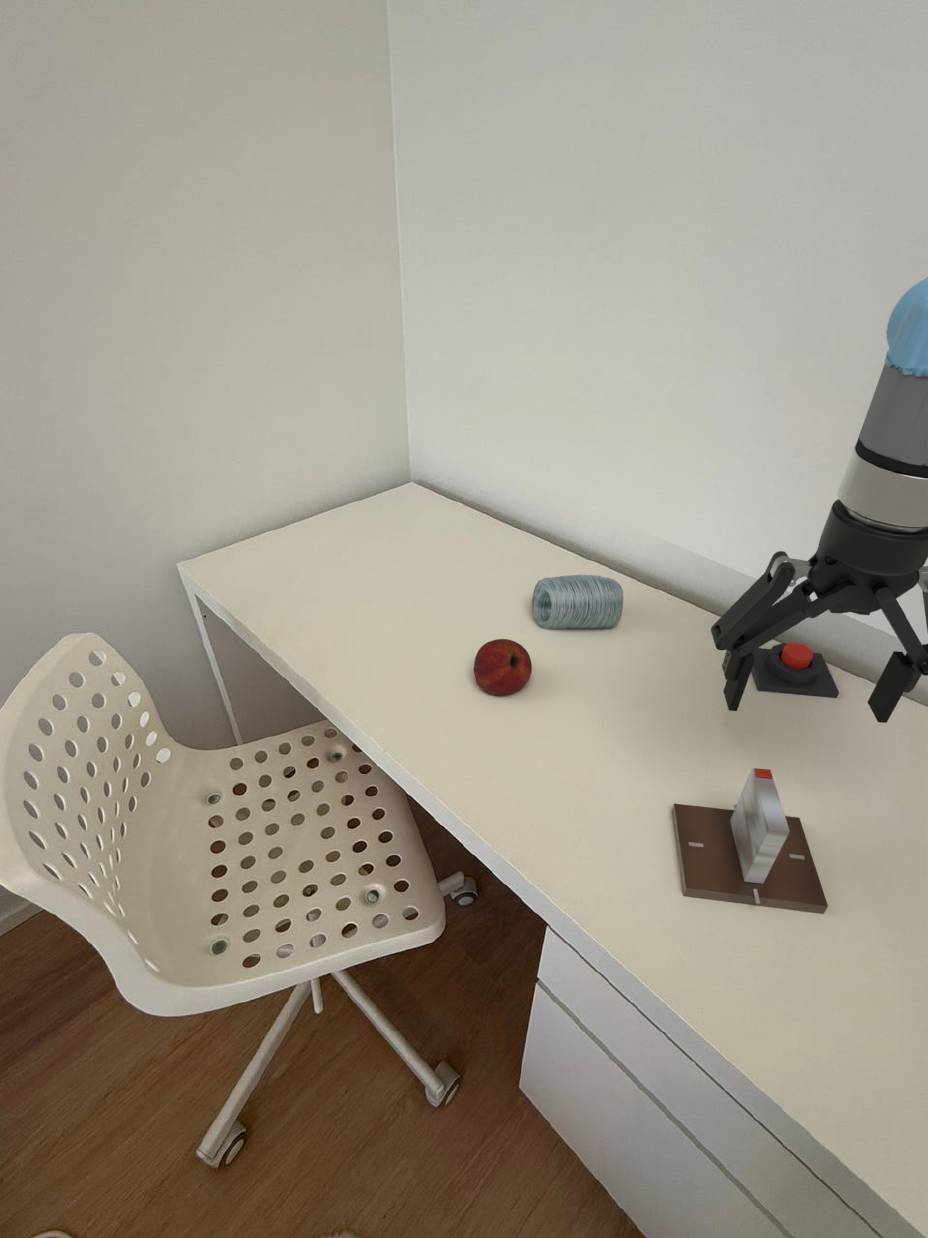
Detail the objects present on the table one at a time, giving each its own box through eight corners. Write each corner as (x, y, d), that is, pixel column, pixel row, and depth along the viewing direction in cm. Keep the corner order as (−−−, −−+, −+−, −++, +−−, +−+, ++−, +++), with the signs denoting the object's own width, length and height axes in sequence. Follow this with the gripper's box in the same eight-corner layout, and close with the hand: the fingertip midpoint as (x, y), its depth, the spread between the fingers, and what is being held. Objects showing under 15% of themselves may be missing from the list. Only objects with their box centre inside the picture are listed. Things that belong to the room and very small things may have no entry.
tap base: (790, 826, 71) (798, 811, 69) (821, 926, 62) (831, 912, 60) (668, 812, 72) (673, 797, 70) (681, 908, 63) (687, 893, 62)
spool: (527, 629, 93) (547, 562, 91) (521, 617, 102) (539, 556, 100) (618, 654, 94) (639, 588, 92) (603, 640, 103) (622, 580, 101)
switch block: (816, 665, 92) (825, 643, 89) (833, 704, 85) (844, 682, 83) (743, 658, 93) (750, 637, 90) (755, 697, 87) (763, 675, 84)
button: (804, 653, 88) (809, 643, 87) (812, 671, 85) (816, 661, 84) (777, 651, 89) (781, 641, 88) (784, 668, 86) (788, 658, 85)
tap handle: (763, 884, 62) (791, 830, 57) (744, 882, 63) (769, 827, 57) (747, 822, 68) (771, 768, 63) (729, 820, 68) (752, 766, 63)
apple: (492, 716, 84) (494, 670, 79) (462, 681, 89) (462, 635, 84) (539, 695, 87) (543, 650, 82) (507, 663, 92) (509, 618, 87)
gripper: (1035, 495, 51) (922, 690, 64) (712, 481, 54) (665, 671, 67) (1096, 543, 46) (959, 747, 58) (730, 524, 48) (675, 724, 61)
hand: (802, 707), depth 63 cm, fingers open, 13 cm apart
